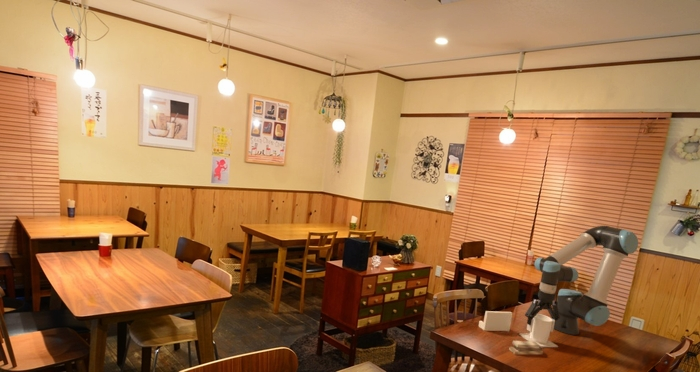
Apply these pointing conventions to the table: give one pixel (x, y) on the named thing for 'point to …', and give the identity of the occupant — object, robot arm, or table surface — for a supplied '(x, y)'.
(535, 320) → the candle holder
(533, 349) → the offcut stack
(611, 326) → the table surface
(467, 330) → the table surface
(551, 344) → the felt pad
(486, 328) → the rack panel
